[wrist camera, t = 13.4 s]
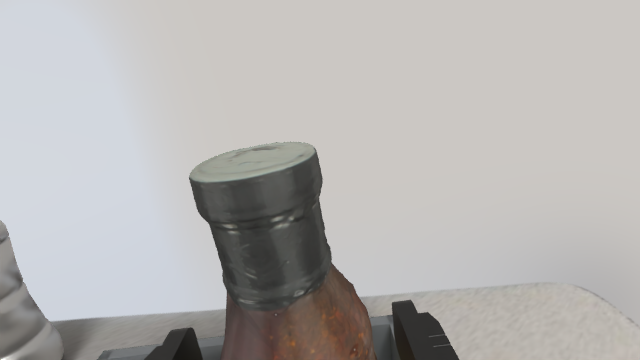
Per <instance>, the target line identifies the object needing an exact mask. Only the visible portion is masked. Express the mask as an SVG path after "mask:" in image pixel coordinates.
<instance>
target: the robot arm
mask: <svg viewBox="0 0 640 360" xmlns="http://www.w3.org/2000/svg"><path fill="white" fill-rule="evenodd" d="M392 313H393V327H394V337H395V343H396V347H397V350H398V354H399V357H400V360H459V358H458V356H457V355H456V353H455V351H454V349H453V347H452V346H451V344H450V342H449V340H448V338H447V336H446V335H445V332H444V331H443V329H442V327H441V325H440V323H439V322H438V321H437V320H436V319H435V318H434V317H433V316H431V315H430V314H429V313H428V312H426V313H417V310H416V308H415V306H414V304H413V302H412V301H411V300H406V301H399V302H392ZM144 360H203V357H202V354H201V350H200V347H199V344H198V341H197V338H196V335H195V332H194V330H193V328H183V329H175V330H171V331H170V332H169V334H168V335H167V337H166V339H165V341H164V342H163V344H162V346H157V347H156V348H155V349H154V350H153V351H152V352H151V353H150V354H149V355H148V356H147V357H146V358H145V359H144Z"/></svg>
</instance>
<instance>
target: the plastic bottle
mask: <svg viewBox="0 0 640 360" xmlns="http://www.w3.org/2000/svg"><path fill="white" fill-rule="evenodd" d="M8 236H9V233H8V231H7V229H6V226H5V225H4V223H2V221H0V360H62V357H63V353H64V347H63V343H62V338H61V335H60V334H59V332H58V331H57V330H56V328H55V327H54V326H53V325H52V324H51V323H50V321H48V319H46V318H45V316H44V315H43V313H42V312H41V310H40V309H39V307H38V306H37V304H36V303H35V302H34V300H33V298H32V297H31V296H30V294H29V292H28V290H27V287H26V285H25V283H24V282H23V278H22V275H21V273H20V271H19V268H18V266H17V263H16V260H15V256H14V252H13V248H12V245H11V241H10V238H9V237H8Z"/></svg>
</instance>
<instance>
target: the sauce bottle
mask: <svg viewBox="0 0 640 360" xmlns="http://www.w3.org/2000/svg"><path fill="white" fill-rule="evenodd" d="M189 180H190V183H191V187H192V191H193V195H194V199H195V202H196V206H197V209H198V212H199V213H200V215H201V216H202V217H203V218H204V219H205V220H206V221H207V222H208V223H209V225H210V228H211V231H212V235H213V238H214V241H215V245H216V248H217V251H218V255H219V259H220V261H221V266H222V269H223V275H222V276H223V283H224V285H225V287H226V289H227V305H226V329H225V337H224V343H223V347H222V352H221V358H220V360H377V356H376V353H375V351H374V344H373V335H372V327H371V322H370V319H369V316H368V312H367V309H366V307H365V306H364V305H363V303H362V302H361V300H360V299H359V297H358V295H357V294H356V291H355V289H354V286H353V284H351V283H350V282H349V281H348V280H347V279H346V278H345V277H344V276H343V274H341V273H340V272H339V271H338V270H337V269H336V267H335V266H334V265H333V264H332V262H331V260H332V259H331V251H330V246H329V245H328V243H327V239H326V236H325V232H324V230H325V227H324V222H323V219H322V213H321V208H320V202H319V196H320V193H321V187H322V174H321V168H320V165H319V159H318V156H317V152H316V149H315V148H314V147H313V146H312V145H310V144H308V143H301V142H284V143H277V142H276V143H271V144H265V145H258V146H254V147H249V148H243V149H239V150H233V151H230V152H227V153H223V154H220V155H218V156H215V157H213V158H210V159H208V160H206V161H204V162H202V163H201V164H199V165H198V166H196V167H195V168H194V169H193V170H192V172H191V173H190V176H189Z"/></svg>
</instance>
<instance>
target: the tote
mask: <svg viewBox="0 0 640 360" xmlns="http://www.w3.org/2000/svg"><path fill="white" fill-rule="evenodd" d="M369 319H370V322H371V327H372V335H373V344H374V351H375V353H376V356H377V360H400V357H399V354H398V350H397V347H396V343H395V337H394V327H393V315H387V316H379V317H371V318H369ZM224 337H225V336H220V337H212V338H204V339H197V341H198V344H199V347H200V350H201V354H202V357H203V360H220V358H221V352H222V347H223V343H224ZM157 346H162V344H156V345H148V346H140V347H132V348H124V349H116V350H108V351H103V353H102V354H101V355H100V357H99V358H98V359H97V360H144V359H145V358H146V357H147V356H148V355H149V354H150V353H151V352H152V351H153V350H154V349H155V348H156V347H157Z"/></svg>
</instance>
